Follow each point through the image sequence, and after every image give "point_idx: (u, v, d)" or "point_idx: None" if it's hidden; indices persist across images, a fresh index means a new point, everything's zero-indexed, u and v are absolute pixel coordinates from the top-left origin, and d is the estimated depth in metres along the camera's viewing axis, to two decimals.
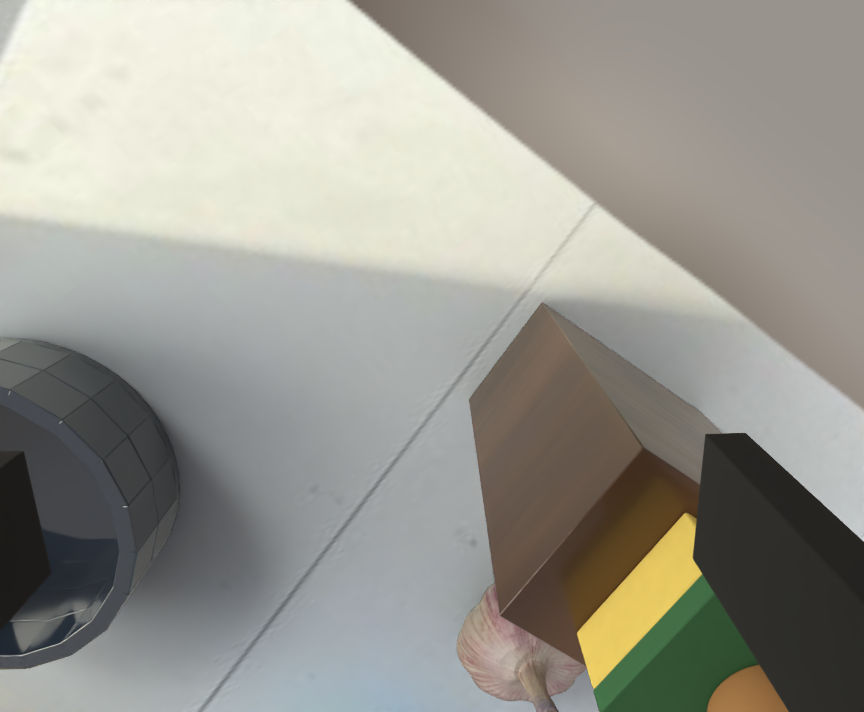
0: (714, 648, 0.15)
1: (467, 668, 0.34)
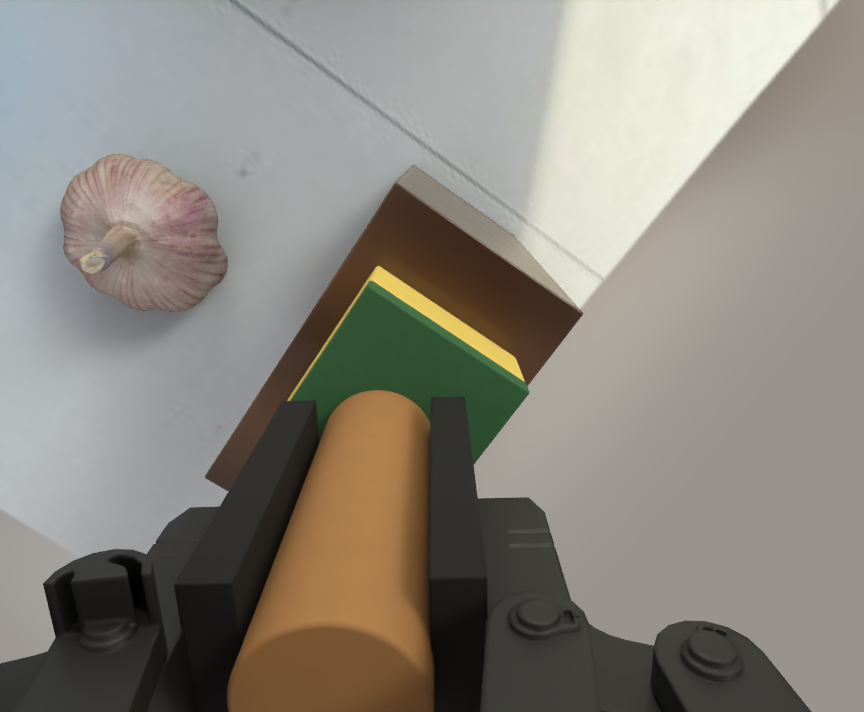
0: (449, 389, 0.16)
1: (99, 166, 0.29)
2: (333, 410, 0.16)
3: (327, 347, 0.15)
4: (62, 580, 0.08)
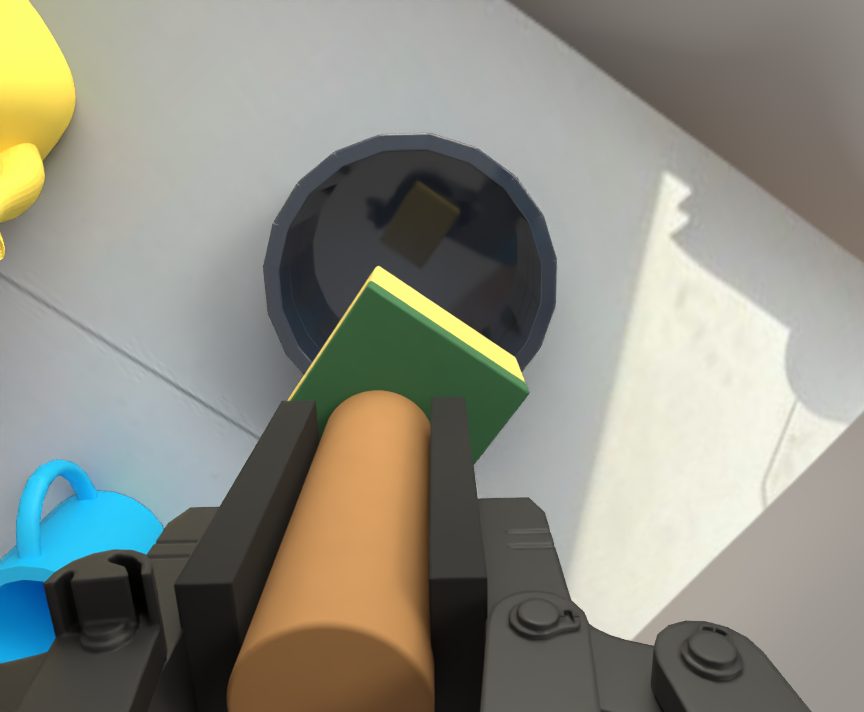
0: (449, 389, 0.16)
1: None
2: (333, 410, 0.16)
3: (327, 347, 0.15)
4: (62, 579, 0.08)
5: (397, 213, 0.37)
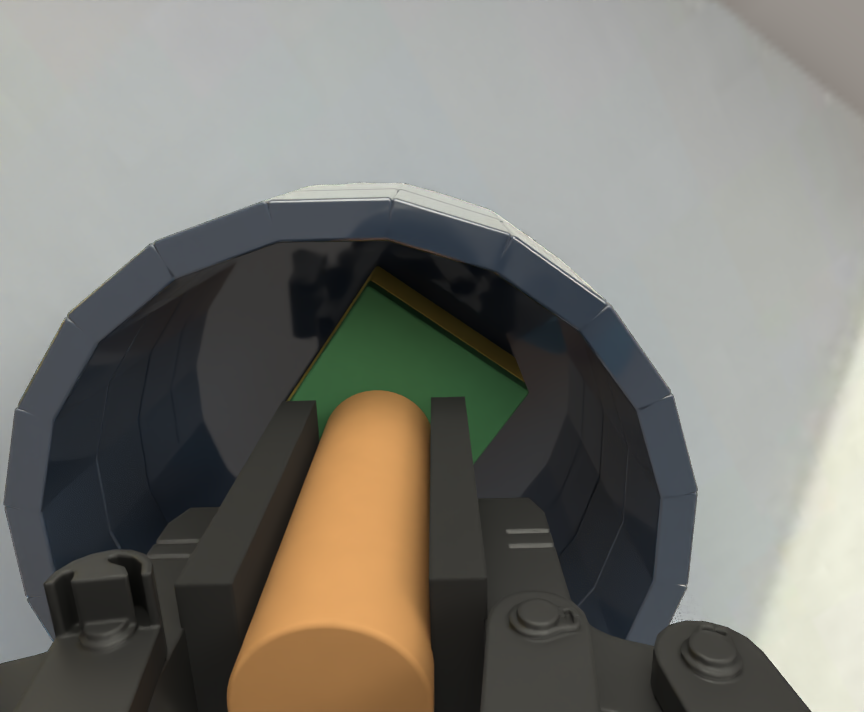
0: (448, 389, 0.16)
1: None
2: (333, 410, 0.16)
3: (327, 347, 0.15)
4: (63, 580, 0.08)
5: None
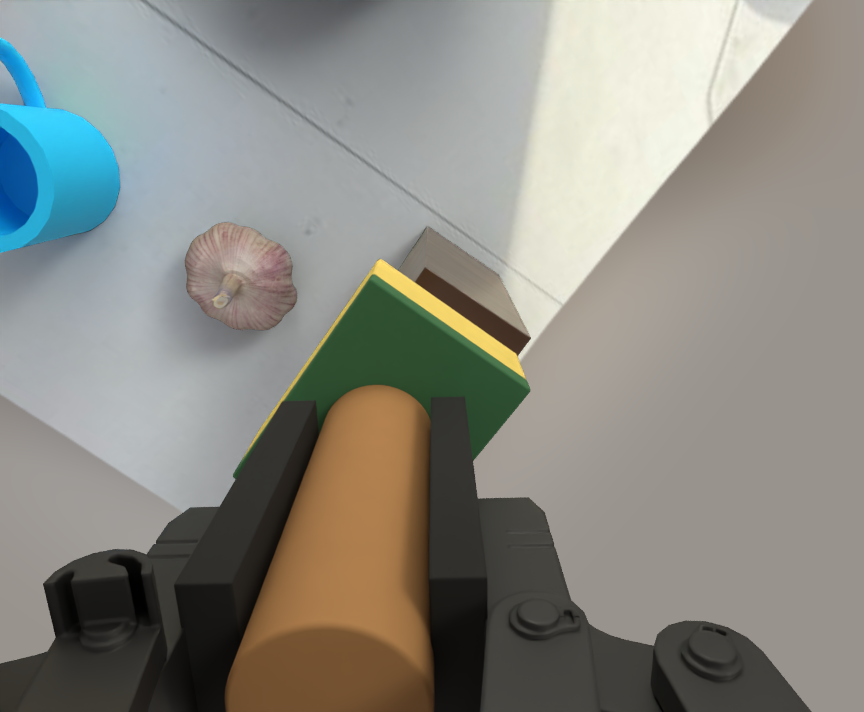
0: (449, 385, 0.15)
1: (214, 232, 0.43)
2: (332, 404, 0.16)
3: (328, 340, 0.15)
4: (63, 580, 0.08)
5: None
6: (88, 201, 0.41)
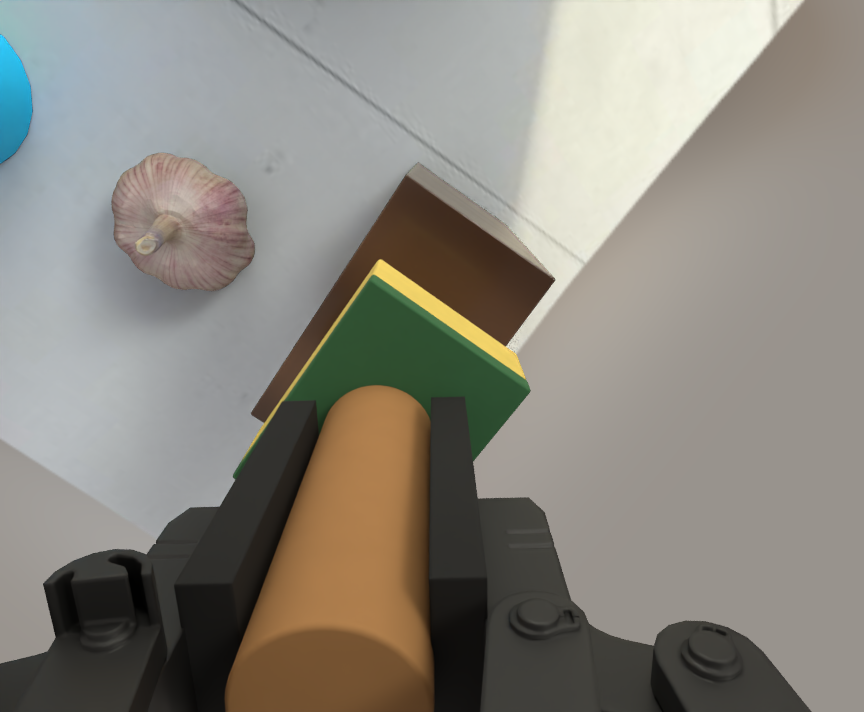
0: (450, 385, 0.15)
1: (146, 163, 0.34)
2: (332, 404, 0.16)
3: (328, 341, 0.15)
4: (62, 579, 0.08)
5: None
6: None
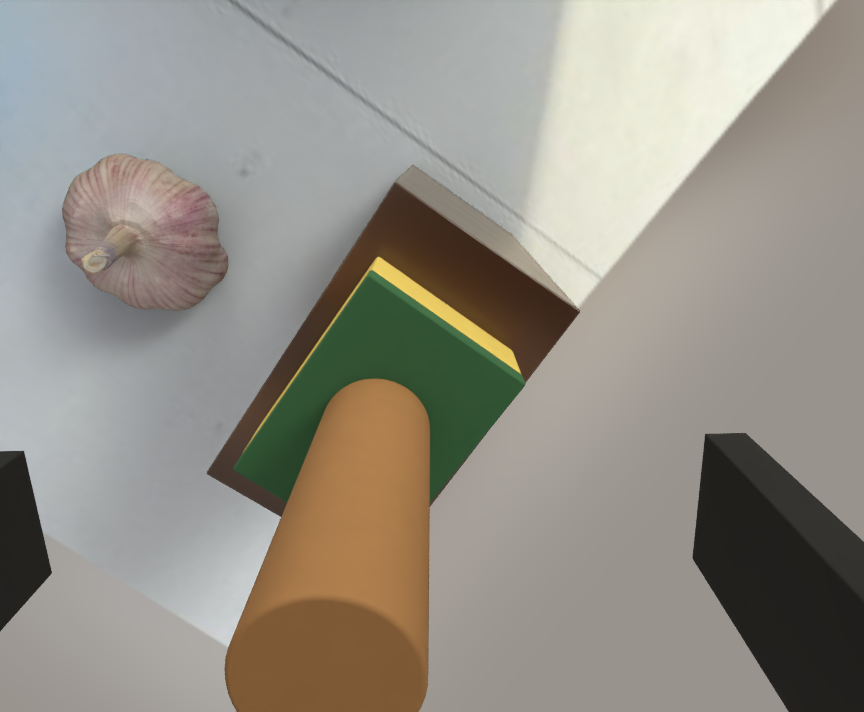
0: (446, 378, 0.16)
1: (101, 166, 0.29)
2: (331, 397, 0.16)
3: (327, 335, 0.15)
4: None
5: None
6: None
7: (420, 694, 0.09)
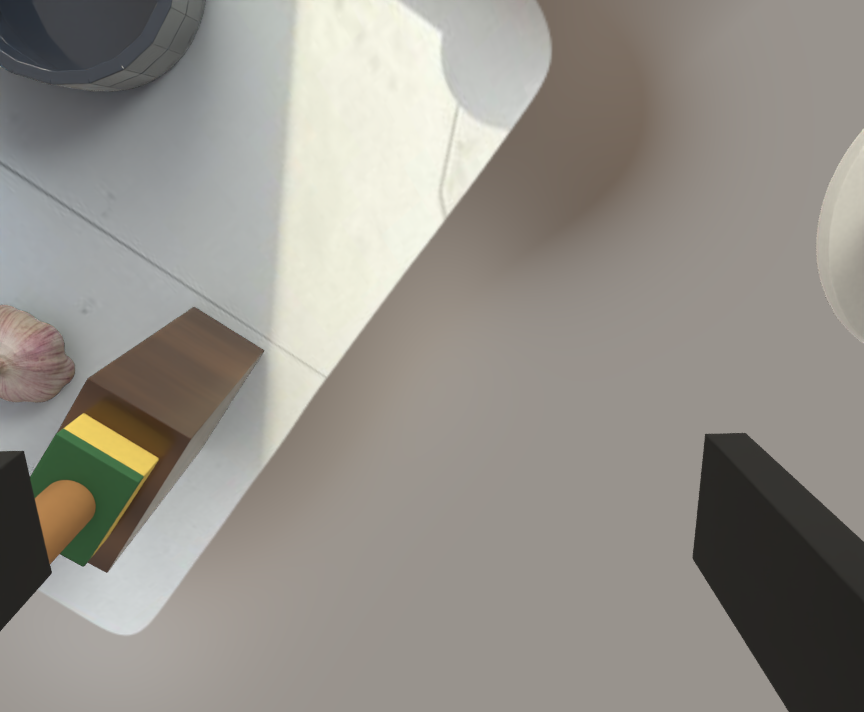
0: (100, 480, 0.33)
1: None
2: (45, 488, 0.33)
3: (40, 460, 0.33)
4: None
5: None
6: None
7: None
